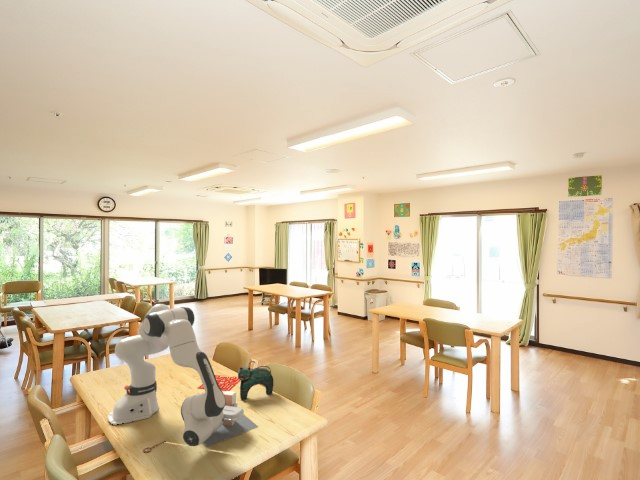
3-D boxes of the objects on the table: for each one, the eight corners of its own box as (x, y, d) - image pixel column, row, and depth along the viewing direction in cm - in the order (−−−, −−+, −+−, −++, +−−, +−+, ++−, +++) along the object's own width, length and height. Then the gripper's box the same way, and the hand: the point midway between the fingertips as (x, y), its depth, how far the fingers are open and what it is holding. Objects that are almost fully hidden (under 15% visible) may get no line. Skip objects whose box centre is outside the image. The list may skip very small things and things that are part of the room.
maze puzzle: (229, 391, 196) (229, 390, 196) (197, 389, 199) (197, 387, 199) (243, 378, 215) (243, 377, 215) (214, 376, 219) (214, 375, 219)
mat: (207, 448, 141) (207, 446, 141) (191, 428, 156) (191, 426, 156) (258, 428, 156) (258, 426, 156) (238, 411, 171) (238, 410, 171)
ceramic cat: (238, 402, 182) (238, 364, 182) (236, 397, 188) (236, 361, 188) (274, 395, 190) (274, 359, 190) (271, 390, 196) (271, 356, 196)
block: (231, 425, 157) (231, 395, 157) (222, 424, 158) (222, 394, 158) (235, 421, 161) (235, 391, 161) (226, 420, 162) (226, 390, 162)
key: (172, 434, 153) (139, 450, 140) (172, 432, 153) (138, 448, 140) (180, 437, 149) (146, 454, 137) (180, 435, 149) (146, 452, 137)
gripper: (234, 414, 144) (249, 400, 158) (193, 408, 150) (211, 395, 163) (234, 429, 144) (249, 413, 158) (193, 422, 150) (211, 408, 163)
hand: (230, 404), depth 160 cm, fingers closed on block, 5 cm apart
